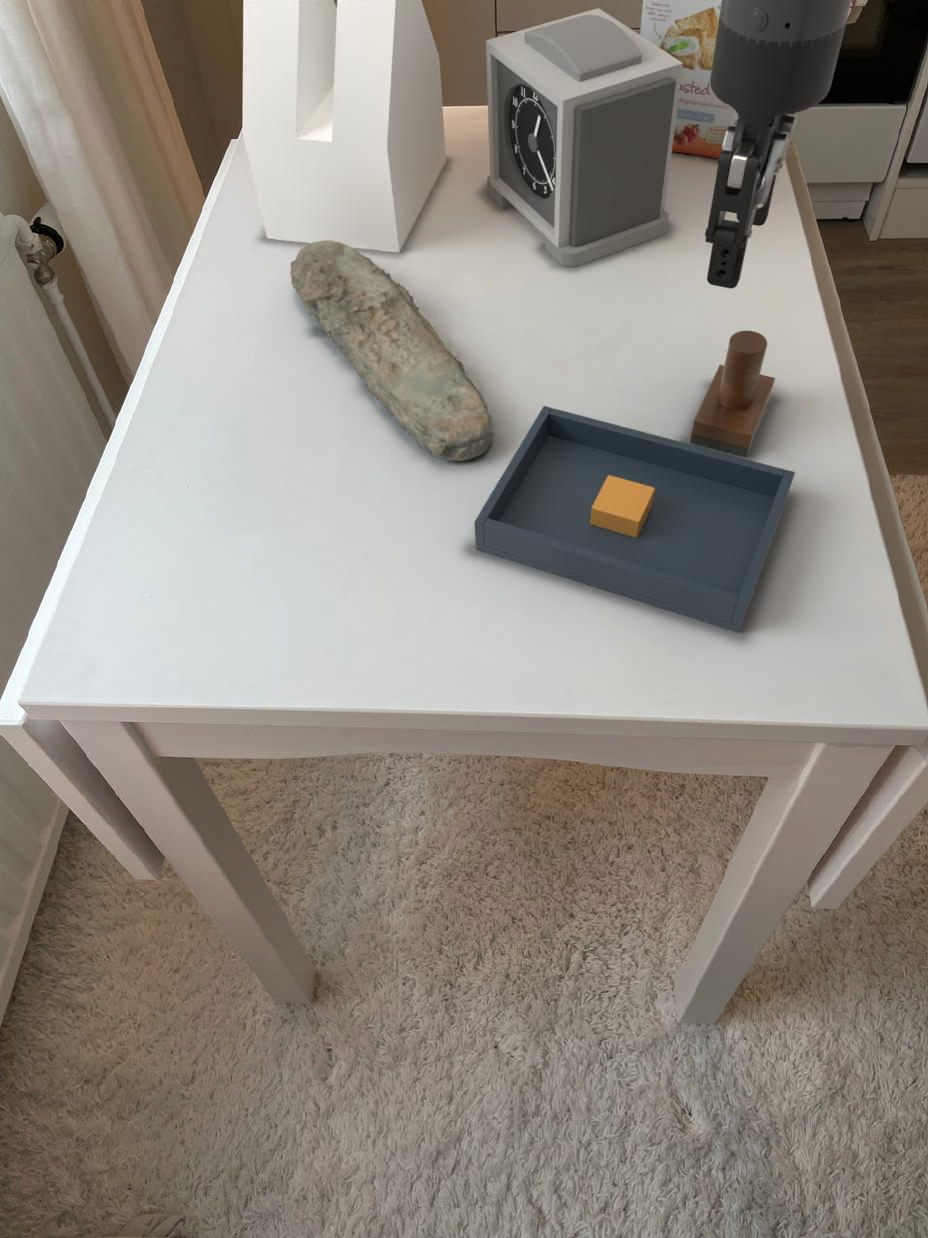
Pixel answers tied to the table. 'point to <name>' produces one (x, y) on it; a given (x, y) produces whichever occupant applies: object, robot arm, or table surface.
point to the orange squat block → (622, 506)
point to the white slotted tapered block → (341, 118)
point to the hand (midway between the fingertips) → (737, 251)
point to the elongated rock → (393, 349)
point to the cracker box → (691, 70)
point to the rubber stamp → (735, 397)
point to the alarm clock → (582, 133)
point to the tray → (672, 533)
